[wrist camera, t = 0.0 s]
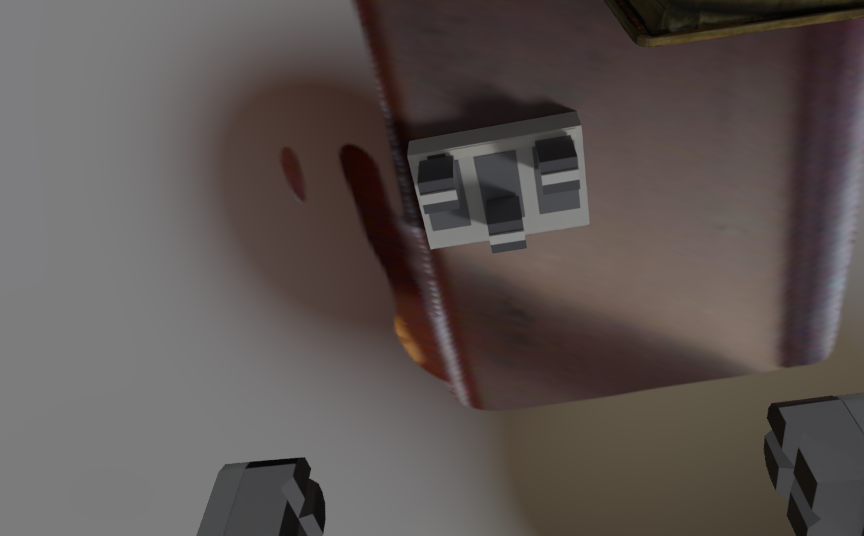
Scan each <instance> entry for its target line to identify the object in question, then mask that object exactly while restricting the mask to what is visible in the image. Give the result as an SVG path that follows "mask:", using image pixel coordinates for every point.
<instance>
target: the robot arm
mask: <svg viewBox="0 0 864 536" xmlns="http://www.w3.org/2000/svg"><path fill="white" fill-rule="evenodd" d="M767 420H768V422H769V424H770V426H771V428H772V430H771V431H770V432H768V433H767V434H766V435H765V439H764V455H765V462H766V467H767V470H768V473H769V476H770V479H771V481H772V484H773V486H774V488H775V490H776V492H777V493H779V494H780V495H782V496H783V497H784V498H786V499H787V500H788V501H789V503H788V510H787V517H788V520H789V522H790V524H791V526H792V528H793V530H794V532H795V535H796V536H864V393H856V394H849V395H848V394H847V395H838V396H825V397H818V398H809V399H802V400H793V401H785V402H778V403H771V405H770V406H769V408H768V414H767ZM310 471H311V467H310V466H309V464H308V462H307V461H306V459H305V457H304V458H303V457H302V458H289V459H278V460H266V461H254V462H244V463H235V464H225V465H224V467H223V468H222V469H221V470H220V471H219V473H218V476H217V479H216V482H215V484H214V487H213V490H212V493H211V496H210V499H209V502H208V504H207V507H206V510H205V513H204V516H203V519H202V522H201V525H200V527H199V530H198V533H197V536H322V535H323V532H324V526H325V501H324V497H323V492H322V490H321V488H320V486H319V484H318V483H317V482H315V481H313V480H311V479H309V476H310Z"/></svg>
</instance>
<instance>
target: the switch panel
mask: <svg viewBox="0 0 864 536" xmlns="http://www.w3.org/2000/svg"><path fill="white" fill-rule="evenodd" d="M567 135H571V138H572V141H573V144H574V147H575V150H576V153H577V157H578V168H579V175H580V189H578V190H572V191H566V192H560V193H554V194H547V195H543V190H542V185H541V181H540V176H539V170H538V163H537V155H536V147H535V141H538V140H544V139H550V138H555V137H561V136H567ZM452 155H453V156H454V161H455V165H456V170H457V175H458V180H459V185H460V209H455V210H449V211H443V212H437V213H430V214H425V213H424V209H423V205H422V203H421V199H420V193H419V189H418V185H417V181H418V170H419V161H423V160H429V159H435V158H441V157H446V156H452ZM407 157H408V161H409V165H410V169H411V173H412V177H413V181H414V185H415V189H416V193H417V197H418V201H419V205H420V209H421V213H422V217H423V221H424V225H425V229H426V233H427V237H428V241H429V245H430V249H435V248H442V247H448V246H455V245H461V244H467V243H474V242H480V241H487V240H490V238H489V232H488V226H487V215H486V201H489V200H495V199H501V198H507V197H513V196H519V200H520V207H521V213H522V220H523V227H524V233H525V235H526V234H532V233H539V232H545V231H551V230H558V229H564V228H571V227H577V226H584V225H590V224H589V212H588V200H587V188H586V175H585V163H584V151H583V139H582V127H581V123H580V120H579V117H578V115H577V112H576V111H574V112H568V113H562V114H557V115H551V116H546V117H540V118H534V119H529V120H523V121H518V122H512V123H507V124H501V125H495V126H490V127H484V128H479V129H473V130H468V131H462V132H456V133H451V134H445V135H440V136H434V137H428V138H423V139H417V140H412V141H409V146H408V153H407Z"/></svg>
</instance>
